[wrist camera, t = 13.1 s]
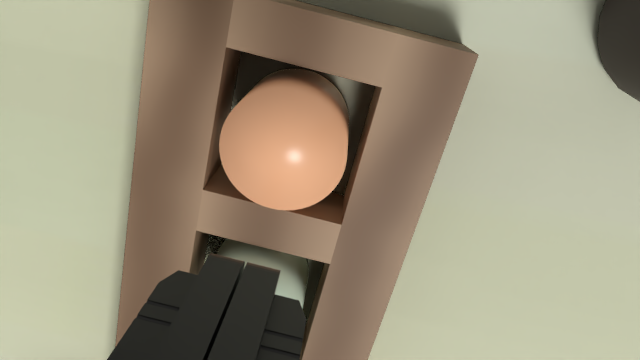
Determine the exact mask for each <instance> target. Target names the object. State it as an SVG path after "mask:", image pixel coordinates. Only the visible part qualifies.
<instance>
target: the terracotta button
mask: <svg viewBox="0 0 640 360" xmlns="http://www.w3.org/2000/svg"><path fill="white" fill-rule="evenodd" d="M349 123H350V122H349V113H348V109H347V106H346V103H345V101H344V99H343V97H342V95H341V94H340V92H339V91H338V89H337V88H336V87H335V86H334V85H333V84H332V83H331V82H330V81H328V80H327V79H326V78H324V77H323V76H321V75H319V74H317V73H315V72H312V71H309V70H304V69H295V68H292V69H284V70H279V71H276V72H274V73H271V74H269V75H267V76H266V77H264V78H263V79H262V80H260V81H259V82H258V83H257V84H256V85H255V86H254V87H253V88H252V89H251V90H250V91H249V92H248V93H247V94H246V96H245V97H244V98H243V99H242V100H241V101H240V102H239V103H238V104H237V105H236V106H235V107H234V108H233V110H232V111H231V112H230V113H229V115H228V117H227V118H226V120H225V122H224V125H223V127H222V130H221V134H220V141H219V152H220V158H221V162H222V165H223V168H224V170H225V173H226V175H227V176H228V178H229V180H230V181H231V183H232V184H233V185H234V186H235V187H236V189H237V190H238V191H240V192H241V193H242V194H243V195H244V196H245V197H247V198H248V199H250V200H251V201H253V202H255V203H257V204H259V205H261V206H264V207H267V208H271V209H276V210H297V209H303V208H306V207H309V206H311V205H314V204H316V203H318V202H319V201H321V200H323V199H324V198H325V197H326V196H328V195H329V194H330V193H331V192H332V191H333V190H334V189H335V187H336V186H337V184H338V183H339V181H340V180H341V178H342V176H343V173H344V170H345V167H346V162H347V151H348V137H349Z"/></svg>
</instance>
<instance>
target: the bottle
mask: <svg viewBox="0 0 640 360" xmlns="http://www.w3.org/2000/svg"><path fill="white" fill-rule="evenodd" d="M597 43H598V47H599V51H600V55H601V59H602V63H603V67H604V69H605V70H606V71H607V73H608V74H609V76H610V77H611V78H612V80H613V81H614V83H615V84H616V85H617V87H618V88H619V89H621V90H622V91H624V92H625V93H627V94H629V95H630V96H632V97H633V98H635V99H637V100H638V101H640V0H606V2H605V4H604V7H603V9H602V12H601V14H600V19H599V30H598V41H597Z"/></svg>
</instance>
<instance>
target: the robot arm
mask: <svg viewBox="0 0 640 360" xmlns="http://www.w3.org/2000/svg"><path fill="white" fill-rule="evenodd" d="M244 266H245V261H241V260H237V259H233V258H229V257H225V256H221V255H217V254H213V253H210V255H209V256H208V258H207V260H206V261H205V263H204V265H203V267H202V269H201V270H200V272H199V274H198V275H196V274H192V273H188V272H184V271H180V270H178V271H176V272H175V273H173V274H172V275H170V276H168V277H167V278H165V279H163V280H162V281H160V282H159V283H158V284H157V286H156V287H155V289H154V290H153V292H152V293H151V295H150V296H149V298H148V299H147V302H146V303H145V304H144V305H143V307H142V308H141V310H140V311H139V313H138V314H137V318H135V319H134V320H133V322H132V323H131V325H130V326H129V328H128V329H127V331H126V332H125V334H124V335H123V337H122V338H121V340H120V341H119V343H118V344H117V346H116V347H115V349H114V350H113V352H112V353H111V355H110V356H109V358H108V359H107V360H300V354H301V348H302V341H303V336H304V330H305V324H306V317H305V314H304V312H303V309H302V307H301V304H300V301H299V300H295V299H291V298H287V297H284V296H280V295H276V294H275V292H276V288H277V284H278V280H279V276H280V271H281V270H277V269H273V268H269V267H265V266H261V265H257V264H253V263H249V262H247V264H246V266H245V268H244Z"/></svg>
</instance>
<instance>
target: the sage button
mask: <svg viewBox="0 0 640 360" xmlns="http://www.w3.org/2000/svg"><path fill="white" fill-rule="evenodd" d="M217 255H221V256H225V257H229V258H233V259H237V260H241V261H245V266H246V264H247V262H249V263H253V264H257V265H261V266H265V267H269V268H273V269H277V270H281V271H280V276H279V280H278V284H277V288H276V292H275V294H276V295H280V296H284V297H287V298H291V299H295V300H299V301H300V304H301V307H302V309H303V304H304V298H305V293H306V287H307V281H308V272H309V270H308V264H307V260H306V258H304V257H300V256H296V255H292V254H288V253H284V252H280V251H276V250H272V249H268V248H264V247H260V246H256V245H252V244H248V243H244V242H240V241H236V240H232V239H228V238H227V239H226V240H225V241H224V242H223V244H222V245H221V247H220V248H219V250H218V252H217ZM245 266H244V268H245Z"/></svg>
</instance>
